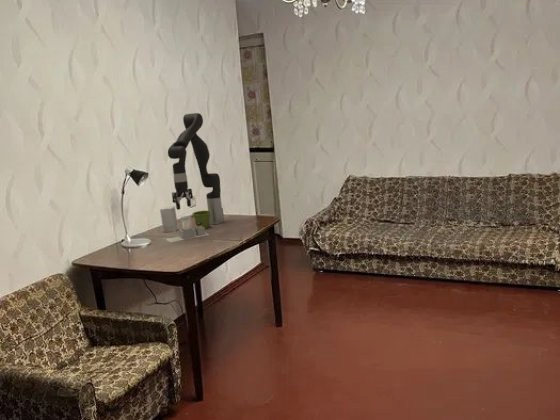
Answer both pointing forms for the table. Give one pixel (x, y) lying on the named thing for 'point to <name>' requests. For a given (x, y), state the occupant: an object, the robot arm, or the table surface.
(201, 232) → the housing
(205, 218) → the plant pot
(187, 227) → the cartridge
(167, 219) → the skincare box
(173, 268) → the table surface
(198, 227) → the plunger
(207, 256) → the table surface
